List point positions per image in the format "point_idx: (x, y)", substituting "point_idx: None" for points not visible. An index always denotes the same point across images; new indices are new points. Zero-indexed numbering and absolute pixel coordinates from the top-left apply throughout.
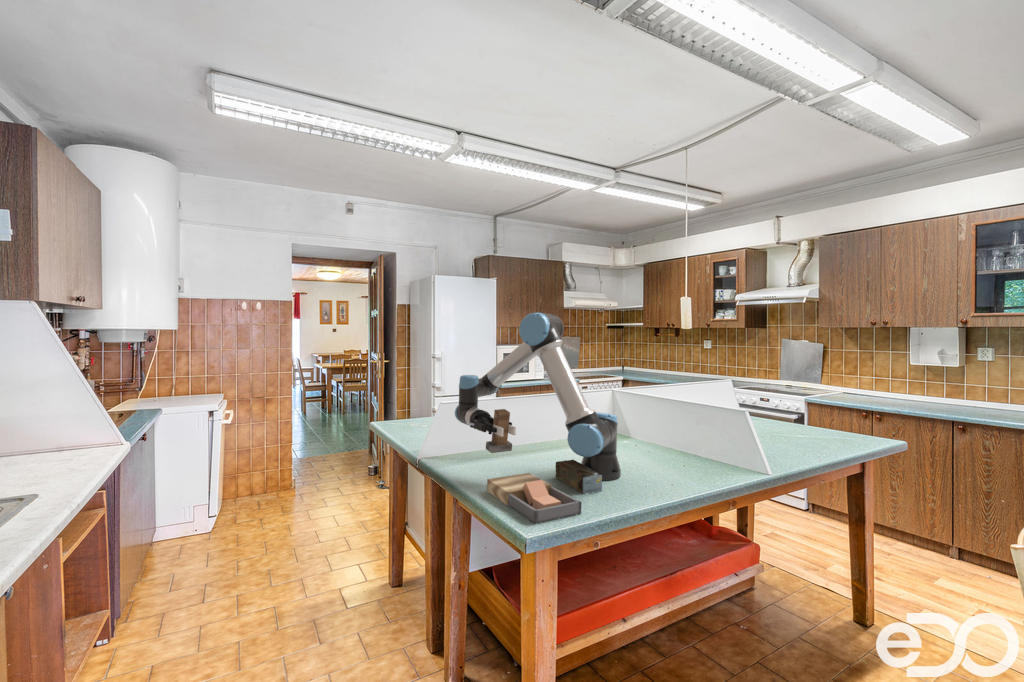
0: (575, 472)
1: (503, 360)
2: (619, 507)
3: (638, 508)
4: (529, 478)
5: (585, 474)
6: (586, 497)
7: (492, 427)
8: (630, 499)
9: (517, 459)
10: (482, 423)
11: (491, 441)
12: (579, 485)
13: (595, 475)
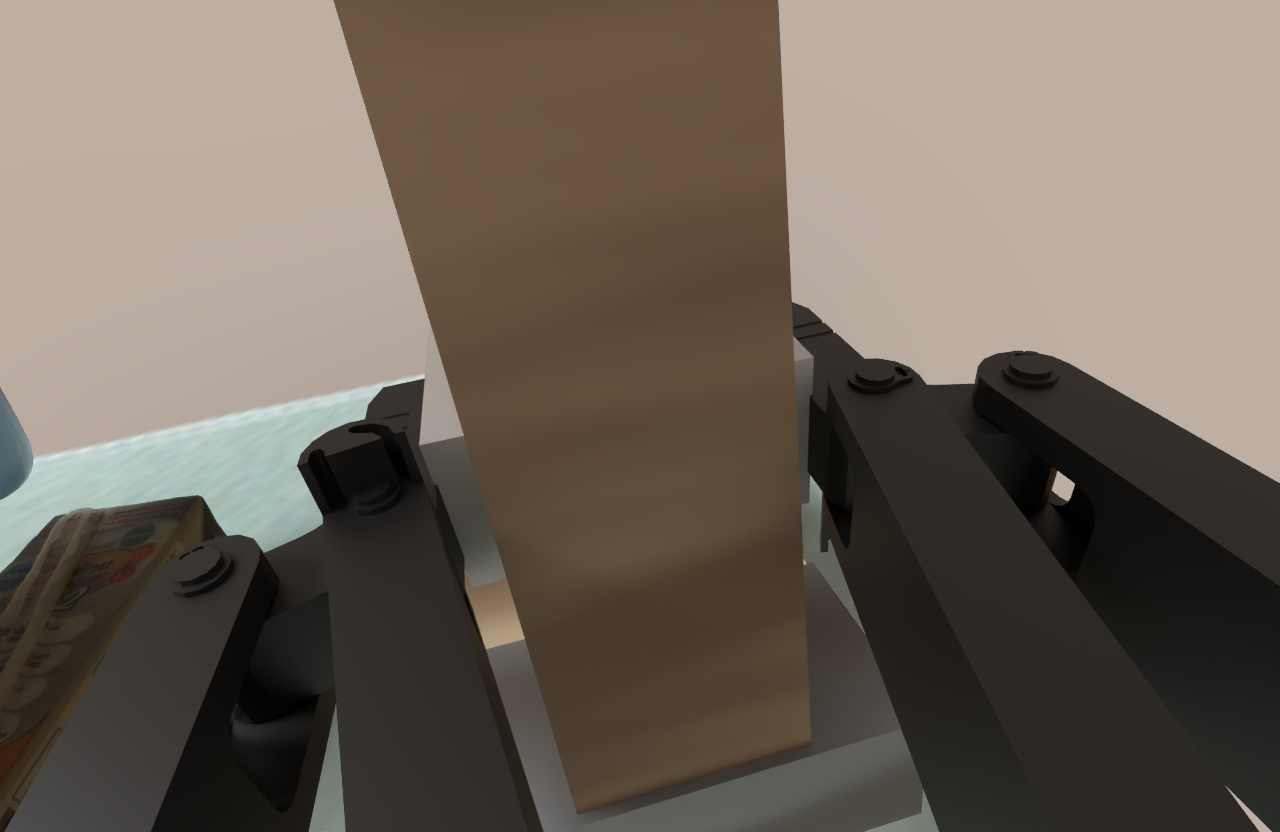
0: (140, 571)
1: None
2: (258, 437)
3: (203, 427)
4: (491, 606)
5: (129, 531)
6: (275, 530)
7: (819, 346)
8: (119, 494)
9: None
10: (1186, 505)
11: (813, 737)
12: None
13: (101, 508)
